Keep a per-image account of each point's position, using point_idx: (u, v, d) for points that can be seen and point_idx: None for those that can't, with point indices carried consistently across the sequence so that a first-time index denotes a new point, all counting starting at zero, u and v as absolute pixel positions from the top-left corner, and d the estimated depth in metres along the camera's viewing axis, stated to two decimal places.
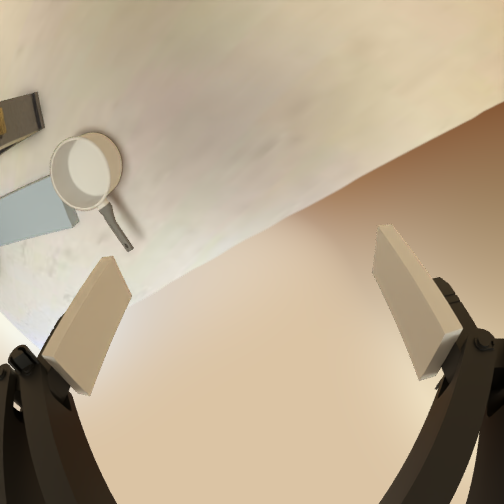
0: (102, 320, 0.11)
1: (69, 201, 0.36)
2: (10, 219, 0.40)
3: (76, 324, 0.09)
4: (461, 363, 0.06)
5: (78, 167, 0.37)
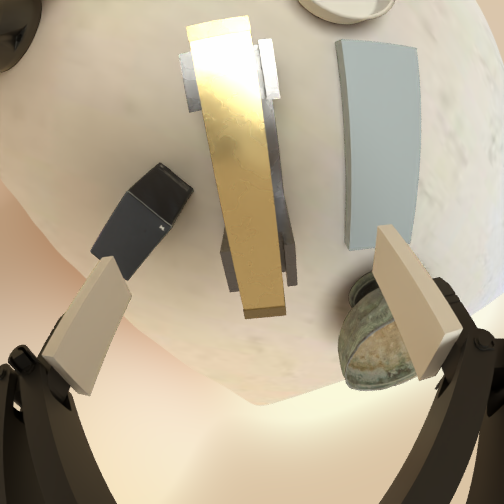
0: (102, 320, 0.11)
1: (382, 10, 0.18)
2: (386, 174, 0.32)
3: (76, 324, 0.09)
4: (461, 363, 0.06)
5: (336, 8, 0.21)
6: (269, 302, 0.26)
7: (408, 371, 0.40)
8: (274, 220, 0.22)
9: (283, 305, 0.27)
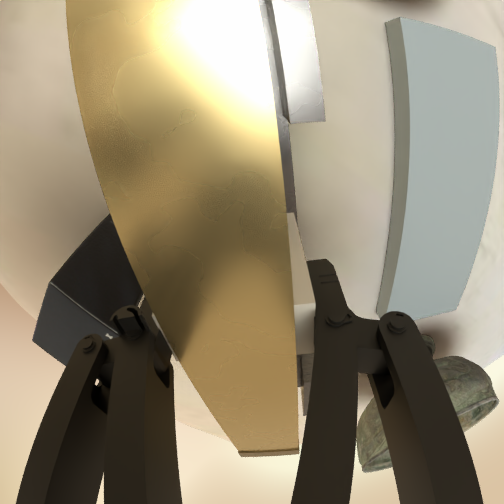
0: None
1: None
2: (447, 230, 0.20)
3: None
4: (315, 346, 0.07)
5: None
6: (275, 448, 0.15)
7: None
8: (293, 390, 0.10)
9: (296, 448, 0.15)
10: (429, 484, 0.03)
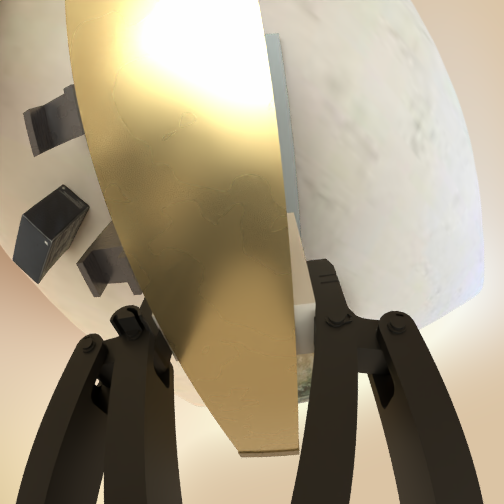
0: None
1: None
2: None
3: None
4: (315, 346, 0.07)
5: None
6: (275, 448, 0.15)
7: None
8: (294, 391, 0.10)
9: (296, 449, 0.15)
10: (429, 484, 0.03)
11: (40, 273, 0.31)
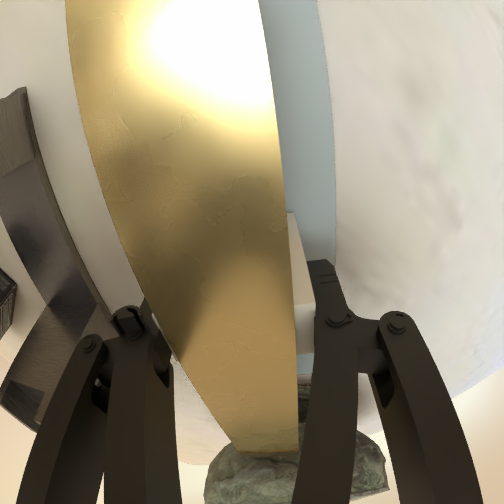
0: None
1: None
2: None
3: None
4: (315, 346, 0.07)
5: None
6: (275, 448, 0.15)
7: None
8: (293, 391, 0.10)
9: (296, 449, 0.15)
10: (429, 484, 0.03)
11: None
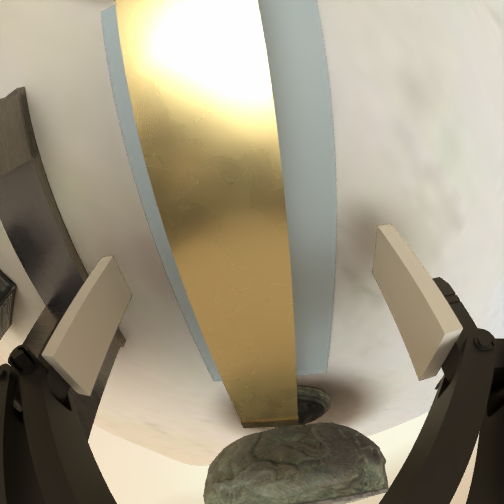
0: (102, 320, 0.11)
1: None
2: None
3: (76, 324, 0.09)
4: (461, 363, 0.06)
5: None
6: (276, 416, 0.17)
7: None
8: (292, 342, 0.12)
9: (295, 417, 0.17)
10: None
11: None
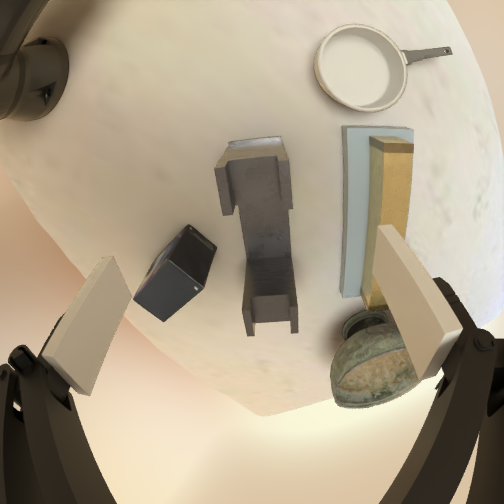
0: (102, 320, 0.11)
1: (393, 99, 0.27)
2: None
3: (76, 324, 0.09)
4: (461, 363, 0.06)
5: (352, 90, 0.30)
6: (383, 301, 0.40)
7: (390, 393, 0.47)
8: None
9: None
10: None
11: (173, 313, 0.39)
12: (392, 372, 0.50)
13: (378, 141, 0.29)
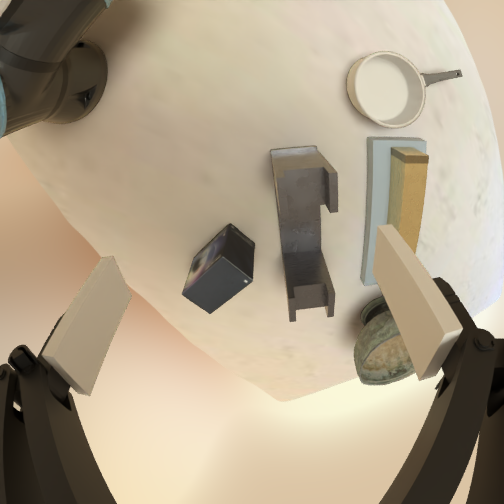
0: (102, 320, 0.11)
1: (413, 116, 0.32)
2: None
3: (76, 324, 0.09)
4: (461, 363, 0.06)
5: (377, 106, 0.35)
6: None
7: (405, 371, 0.53)
8: (415, 246, 0.41)
9: None
10: None
11: (220, 305, 0.44)
12: (405, 352, 0.56)
13: (400, 153, 0.34)
